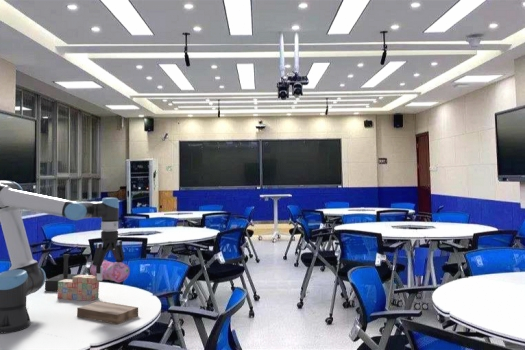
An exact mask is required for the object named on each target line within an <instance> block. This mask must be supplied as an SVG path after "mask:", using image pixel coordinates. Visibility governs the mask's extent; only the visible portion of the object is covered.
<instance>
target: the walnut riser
mask: <svg viewBox="0 0 525 350" xmlns="http://www.w3.org/2000/svg"><path fill="white" fill-rule="evenodd" d="M76 309H77V310H76V312H77V313H76V317H79V318H84V319H89V320H95V321H99V322H103V323H109V324H113V325H119V324H122V323H123V322H124V323H125V322H127V321H129V320H132V319H135V318H136V317H139V307H137V306H132V305H126V304H120V303H114V302H107V301H103V300H98V301H95V302H92V303H88V304H85V305H82V306H79V307H76Z"/></svg>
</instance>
